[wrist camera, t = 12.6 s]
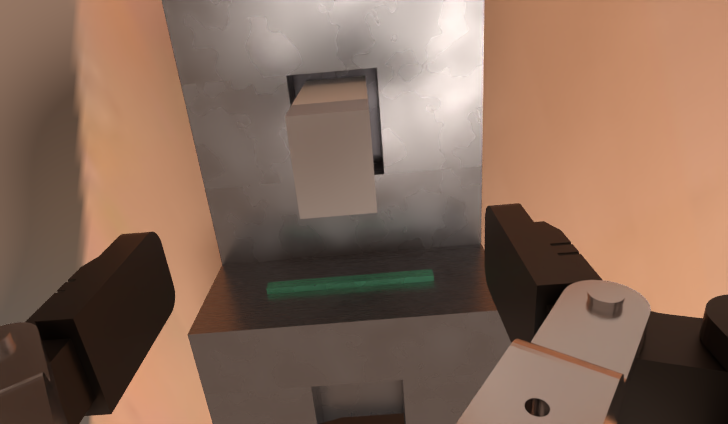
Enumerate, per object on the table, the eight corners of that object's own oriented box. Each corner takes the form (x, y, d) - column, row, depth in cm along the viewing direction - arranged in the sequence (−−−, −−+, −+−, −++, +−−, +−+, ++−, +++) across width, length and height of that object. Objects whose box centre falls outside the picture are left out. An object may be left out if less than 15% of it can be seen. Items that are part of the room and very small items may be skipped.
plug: (306, 81, 25) (284, 116, 17) (365, 75, 25) (369, 109, 17) (315, 157, 26) (300, 218, 19) (371, 152, 26) (377, 212, 19)
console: (180, -18, 24) (86, -26, 15) (469, -45, 23) (531, -68, 15) (267, 392, 34) (239, 518, 26) (468, 377, 34) (504, 499, 26)
